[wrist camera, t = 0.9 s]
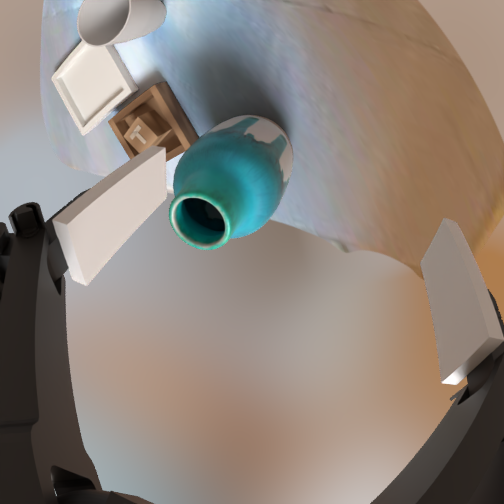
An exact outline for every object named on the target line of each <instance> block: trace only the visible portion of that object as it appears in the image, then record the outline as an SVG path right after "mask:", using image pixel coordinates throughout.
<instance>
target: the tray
mask: <svg viewBox="0 0 504 504" xmlns="http://www.w3.org/2000/svg"><path fill="white" fill-rule="evenodd" d="M51 79H52V80H53V82H54V84H55V86H56V88H57V90H58V92H59V94H60V96H61V98H62V99H63V101H64V103H65V105H66V107H67V109H68V110H69V112H70V114H71V116H72V118H73V119H74V121H75V123H76V125H77V126H78V128H79V130H80V132H81V133H82V135H85V134H87V133H89V132H90V131H91V130H92V129H94V128H95V127H96V126H97V125H98V124H99V123H100V122H101V121H102V120H103V119H104V118H106V117H107V116H108V115H109V114H110V113H111V112H112V111H114V110H115V109H116V108H117V107H118V106H119V105H121V104H122V103H123V102H124V101H125V100H127V99H128V98H129V97H130V96H132V95H133V94H134V93H135V92H137V91H138V90H139V89H138V87H137V85H136V84H135V82H134V80H133V79H132V77H131V75H130V73H129V72H128V70H127V68H126V66H125V65H124V63H123V61H122V60H121V58H120V56H119V54H118V53H117V51H116V49H115V47H114V46H113V44H112V45H107V46H103V47H91V46H89V45H87V44H86V43H84V42H83V40H82V41H81V42H80V44H79V45H78V46H77V47H76V48H75V49H74V50H73V52H72V53H71V54H70V55H69V56H68V57H67V59H66V60H65V61H64V62H63V64H62V65H61V66H60V67H59V69H58V70H57V71H56V72H55V74H54V75H53V76H52V78H51Z"/></svg>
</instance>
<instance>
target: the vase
mask: <svg viewBox="0 0 504 504" xmlns="http://www.w3.org/2000/svg"><path fill="white" fill-rule="evenodd" d="M292 166H293V150H292V145H291V143H290V140H289V138H288V136H287V135H286V133H285V132H284V130H283V129H282V128H281V127H280V126H279V125H278V124H276V123H275V122H273V121H272V120H270V119H268V118H265V117H262V116H258V115H242V116H238V117H234V118H231V119H229V120H226V121H224V122H222V123H220V124H218V125H217V126H215V127H214V128H212V129H211V130H209V131H208V132H206V133H205V134H203V135H202V136H201V137H200V138H198V139H197V140H196V141H195V142H194V143H193V144H192V145H191V146H190V147H189V148H188V149H187V150H186V152H185V153H184V154H183V156H182V157H181V159H180V160H179V162H178V165H177V167H176V169H175V174H174V181H173V189H174V195H175V198H174V199H173V201H172V202H171V205H170V208H169V220H170V223H171V226H172V228H173V230H174V231H175V233H176V234H177V235H178V236H179V237H180V238H181V239H182V240H183V241H184V242H185V243H187V244H189V245H191V246H193V247H195V248H198V249H202V250H212V249H216V248H218V247H221V246H223V245H224V244H225V243H226V242H227V241H228V240H229V239H230V238H239V237H243V236H246V235H248V234H251V233H253V232H255V231H256V230H258V229H259V228H261V227H262V226H263V225H264V224H265V223H266V222H267V221H268V220H269V219H270V217H271V216H272V215H273V213H274V212H275V210H276V209H277V207H278V205H279V203H280V201H281V199H282V197H283V195H284V193H285V191H286V188H287V185H288V183H289V179H290V176H291V172H292Z"/></svg>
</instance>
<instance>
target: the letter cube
mask: <svg viewBox="0 0 504 504" xmlns="http://www.w3.org/2000/svg"><path fill="white" fill-rule="evenodd" d="M172 129H173V128H172V127H171V126H170V125H169V124H168V123H167V122H166V121H165V120H164V119H163V118H162V117H161V116H160V115H159V114H158V113H157V112H156V111H155V110H152V111H150V112H147V113H145V114H143V115H140V116H138V117H137V119H136V120H135V121H134V123H133V124H132V125H131V127H130V128H129V129H128V131H127V132H126V134H125V135H124V136H123V137H124V138H125V139H126V140H127V141H128V142H129V143H130V144H131V145H132V146H133V147H134V148H135V149H136V150H137V151H138V152H139V153H141V152H143V151H144V150H146V149H147V148H149V147H151V146H158V145H159V143H160V142H161V141H162V140H163V139H164V138H165V137H166V135H167V134H168V133H169V132H170V131H171V130H172Z"/></svg>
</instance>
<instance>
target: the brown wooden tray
mask: <svg viewBox="0 0 504 504" xmlns="http://www.w3.org/2000/svg"><path fill="white" fill-rule="evenodd" d="M152 110H155V111H156V112H157V113H158V114H159V115H160V116H161V117H162V118H163V119H164V120H165V121H166V122H167V123H168V124H169V125H170V126H171V127H172V128H173V129H172V130H171V131H170V132H169V133H168V134H167V135H166V137H165V138H164V139H163V140H162V141H161V142H160V143H159V145H158V147H165V148H166V162H167V161H169V160H170V159H172V158H174V157H176V156H177V155H179V154H181V153H183V152H185V151H186V150H187V149H188V148H189V147H190V146H191V145H192V144H193V143H194V142H195V141H196V140H197V139H198V138H199V137H198V135H197V133H196V132H195V130H194V128H193V126H192V125H191V123H190V121H189V119H188V118H187V116H186V114H185V113H184V111H183V109H182V107H181V106H180V104H179V102H178V101H177V99H176V97H175V95H174V94H173V92H172V90H171V89H170V87H169V85H168V83H167V82H162V83H158V84H155V85H153V86H152V87H150V88H149V89H148V90H146V91H145V92H144V93H143V94H141V95H140V96H139V97H137V98H136V99H135V100H133V101H132V102H131V103H130V104H128V105H127V106H126V107H125V108H124V109H122V110H121V111H120V112H119V113H118V114H116V115H115V116H114V117H113V118H112V119H110V120H109V121H108V123H109V125H110V126H111V128H112V130H113V131H114V133H115V135H116V136H117V138H118V140H119V141H120V143H121V145H122V146H123V148H124V150H125V151H126V153H127V155H128V156H129V158H130V159H132V158H134V157H135V156H137V155H138V154H140V153H139V152H138V151H137V150H136V149H135V148H134V147H133V146H132V145H131V144H130V143H129V142H128V141H127V140H126V139H125V138H124V137H123V136H124V135H125V134H126V132H127V131H128V129H129V128H130V127H131V125H132V124H133V123H134V121H135V120H136V119H137V117H138V116H140V115H143V114H145V113H147V112H150V111H152Z"/></svg>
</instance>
